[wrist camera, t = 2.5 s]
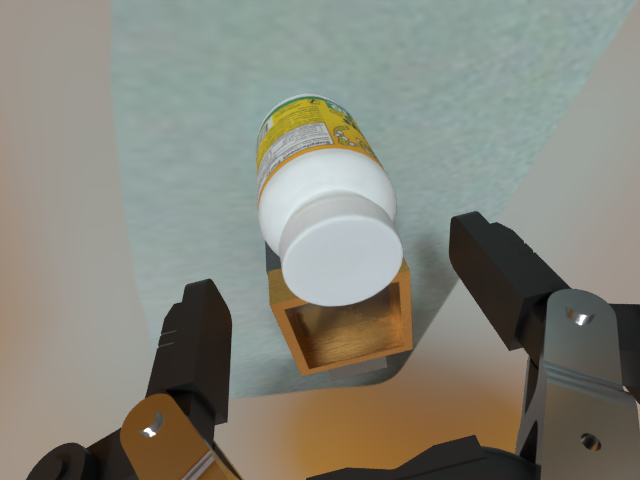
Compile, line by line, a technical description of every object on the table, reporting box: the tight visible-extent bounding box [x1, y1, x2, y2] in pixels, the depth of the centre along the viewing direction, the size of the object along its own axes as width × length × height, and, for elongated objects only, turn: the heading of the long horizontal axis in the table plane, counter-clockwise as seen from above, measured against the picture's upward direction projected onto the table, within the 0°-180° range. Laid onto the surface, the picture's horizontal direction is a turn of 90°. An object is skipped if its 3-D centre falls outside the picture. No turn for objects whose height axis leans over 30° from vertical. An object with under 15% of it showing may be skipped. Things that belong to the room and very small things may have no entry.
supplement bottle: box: [256, 94, 403, 306], centre depth 15 cm, size 5×5×10 cm
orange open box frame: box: [265, 240, 413, 381], centre depth 23 cm, size 10×8×6 cm
